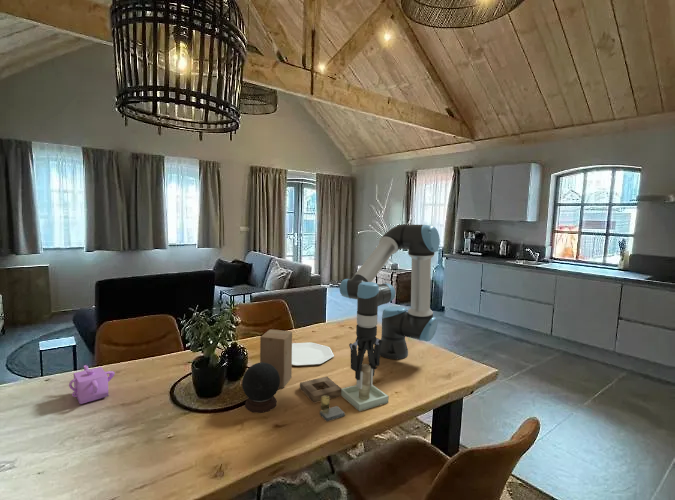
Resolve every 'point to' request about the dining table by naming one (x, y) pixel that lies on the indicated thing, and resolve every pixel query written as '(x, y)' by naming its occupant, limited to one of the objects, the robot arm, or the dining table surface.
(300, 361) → the plate
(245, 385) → the black ball on stand
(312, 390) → the socket block
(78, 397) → the teapot
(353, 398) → the tray
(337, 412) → the steel plate
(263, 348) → the wooden block
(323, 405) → the cylinder
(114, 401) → the dining table surface
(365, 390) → the dowel
